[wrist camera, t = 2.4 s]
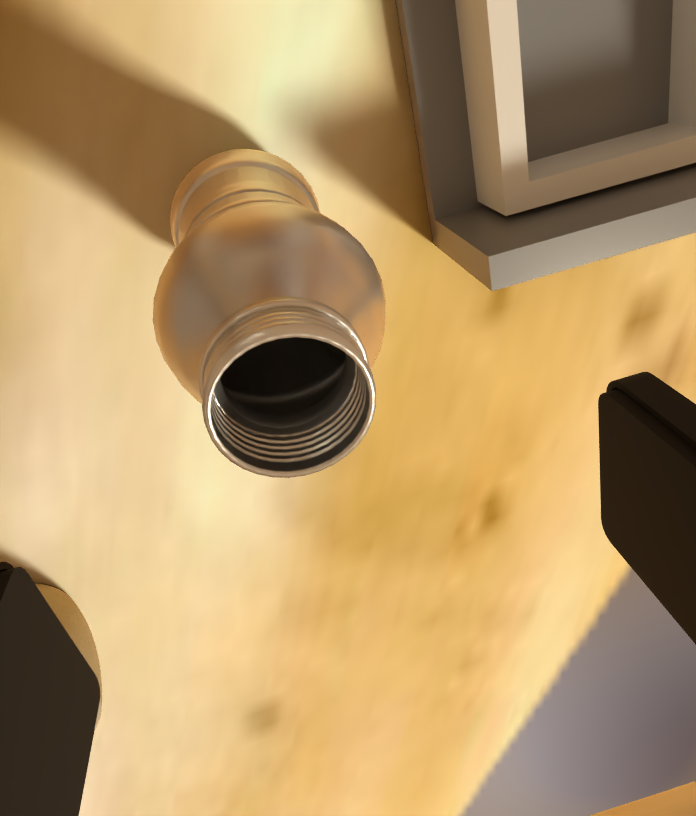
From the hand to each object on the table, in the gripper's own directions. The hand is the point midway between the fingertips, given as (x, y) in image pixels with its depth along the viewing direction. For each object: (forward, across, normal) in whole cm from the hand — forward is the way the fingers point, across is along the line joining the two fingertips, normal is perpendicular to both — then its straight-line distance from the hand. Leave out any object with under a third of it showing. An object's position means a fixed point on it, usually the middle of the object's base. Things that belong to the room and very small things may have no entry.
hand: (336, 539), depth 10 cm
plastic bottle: (+24, 0, -1) cm, 24 cm away
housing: (+24, -17, -5) cm, 30 cm away
